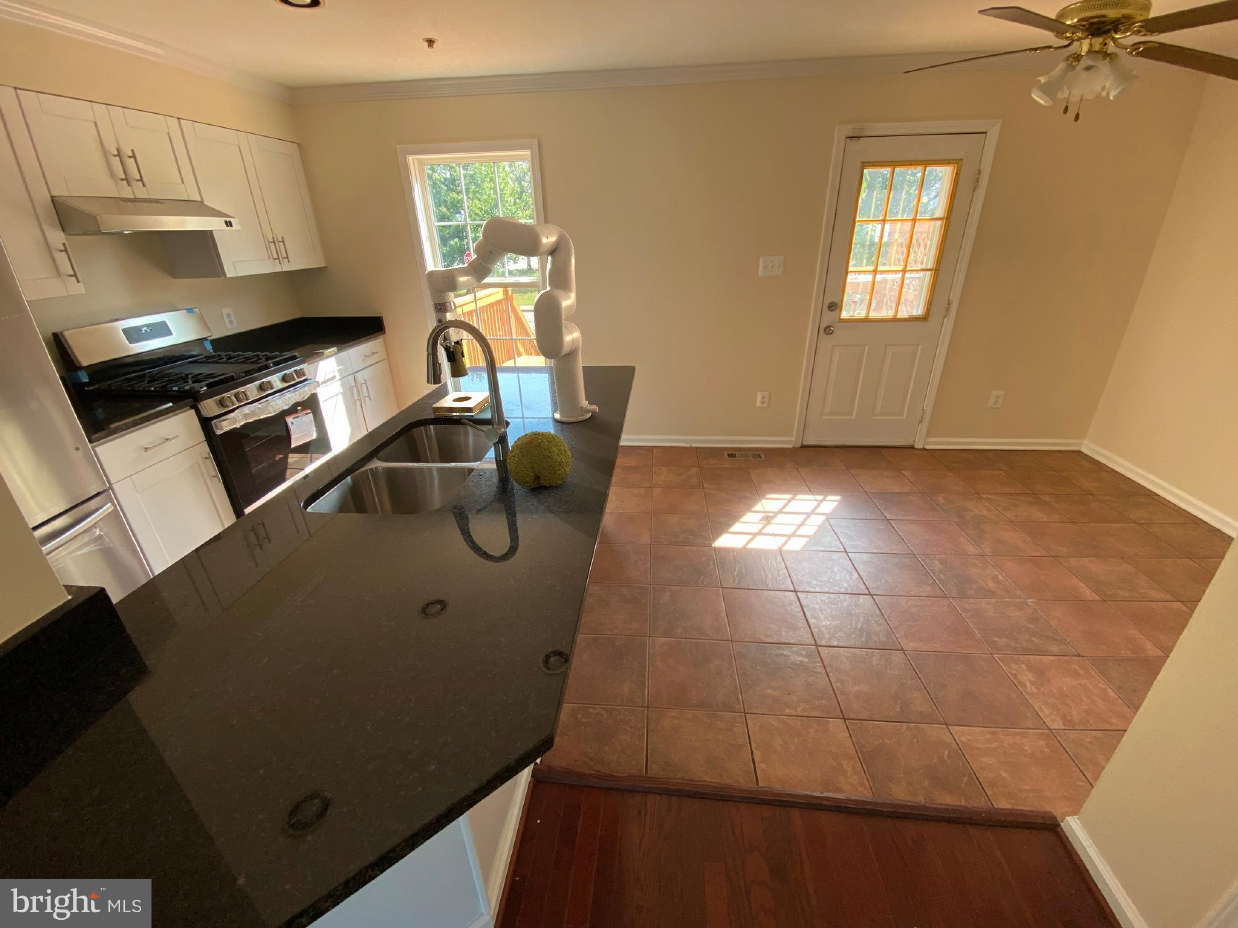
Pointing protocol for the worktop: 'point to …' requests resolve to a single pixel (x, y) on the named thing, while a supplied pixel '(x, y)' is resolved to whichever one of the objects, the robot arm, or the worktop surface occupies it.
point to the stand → (462, 403)
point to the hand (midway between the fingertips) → (456, 359)
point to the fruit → (539, 460)
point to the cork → (458, 364)
